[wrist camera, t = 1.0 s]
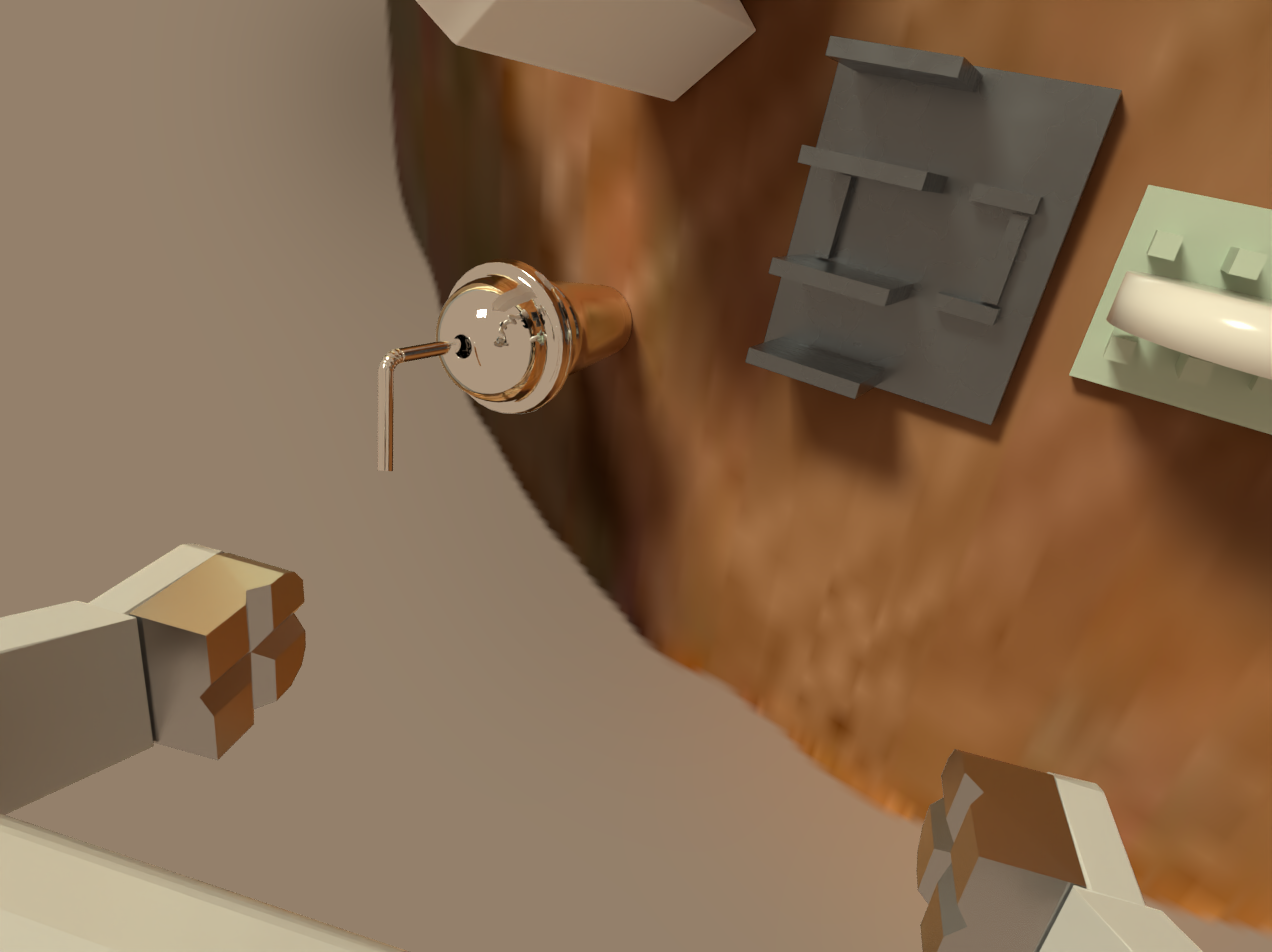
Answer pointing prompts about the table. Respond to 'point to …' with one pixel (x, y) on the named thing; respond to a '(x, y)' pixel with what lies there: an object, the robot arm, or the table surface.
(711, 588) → the table surface
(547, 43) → the milk
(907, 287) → the dish rack
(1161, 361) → the plate stand
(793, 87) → the table surface
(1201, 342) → the plate
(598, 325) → the cup with straw
